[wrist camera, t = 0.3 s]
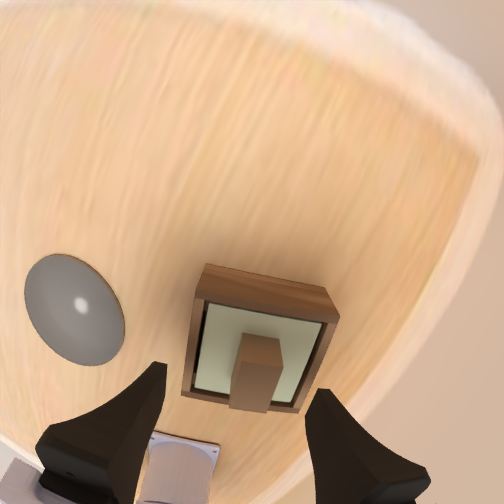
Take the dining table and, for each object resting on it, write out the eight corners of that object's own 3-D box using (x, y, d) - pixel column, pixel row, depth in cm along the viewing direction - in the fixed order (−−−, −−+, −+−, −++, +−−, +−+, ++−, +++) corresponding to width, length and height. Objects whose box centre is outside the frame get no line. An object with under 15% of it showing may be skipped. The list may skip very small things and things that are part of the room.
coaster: (125, 375, 25) (123, 379, 24) (34, 342, 24) (32, 345, 24) (127, 270, 22) (124, 273, 21) (24, 242, 21) (20, 244, 21)
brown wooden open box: (291, 377, 25) (298, 413, 21) (190, 360, 24) (180, 395, 20) (324, 287, 22) (340, 316, 18) (206, 263, 22) (196, 288, 17)
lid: (289, 397, 21) (294, 431, 18) (195, 382, 21) (188, 416, 17) (319, 319, 19) (332, 350, 16) (210, 298, 19) (202, 328, 15)
